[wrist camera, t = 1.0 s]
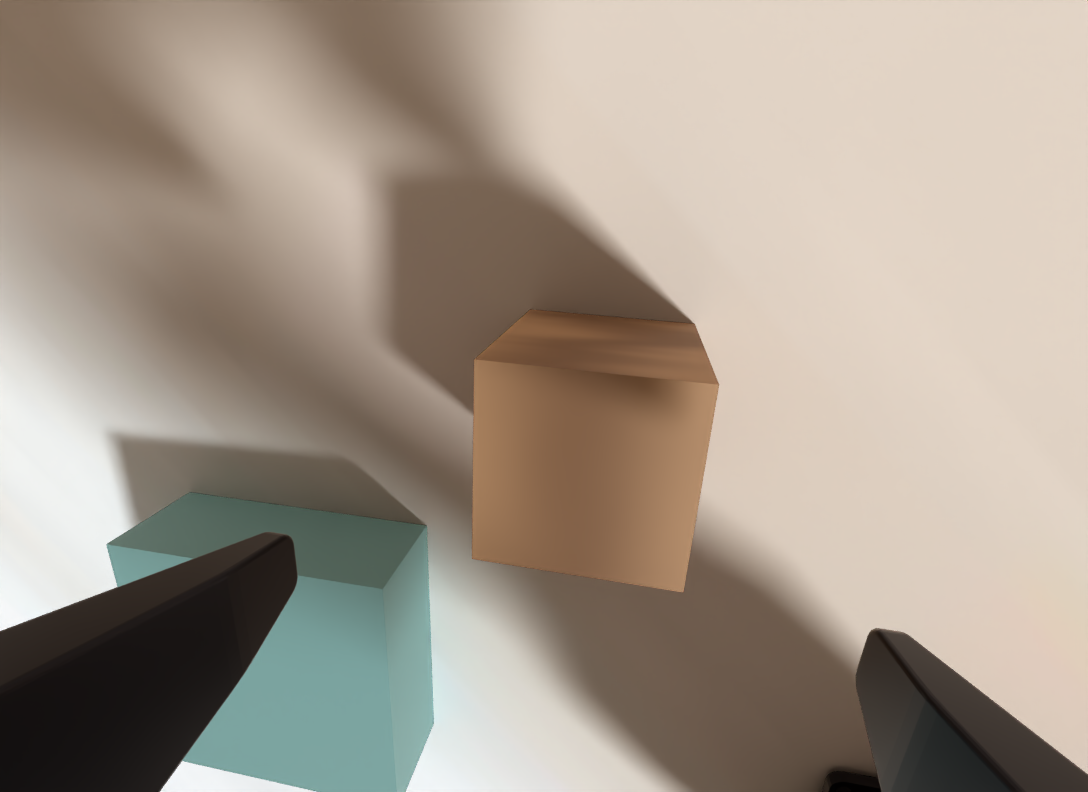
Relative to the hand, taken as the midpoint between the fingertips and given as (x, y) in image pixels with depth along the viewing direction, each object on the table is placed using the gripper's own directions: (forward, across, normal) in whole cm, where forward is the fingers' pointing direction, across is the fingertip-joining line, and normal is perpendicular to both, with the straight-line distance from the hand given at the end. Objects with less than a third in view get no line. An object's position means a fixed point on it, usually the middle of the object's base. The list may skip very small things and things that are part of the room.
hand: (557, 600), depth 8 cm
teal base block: (+10, +11, +11) cm, 19 cm away
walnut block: (+10, 0, 0) cm, 10 cm away
